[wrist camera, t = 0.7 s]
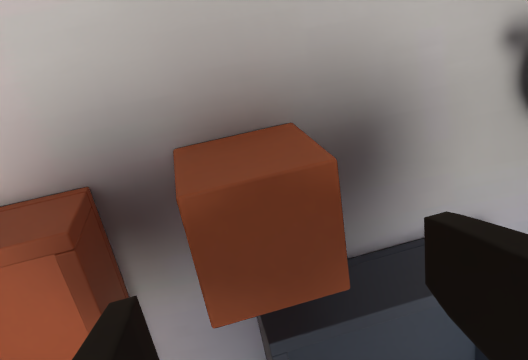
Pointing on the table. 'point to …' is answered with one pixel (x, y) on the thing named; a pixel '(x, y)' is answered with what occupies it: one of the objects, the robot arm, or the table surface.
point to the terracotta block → (262, 221)
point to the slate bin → (371, 317)
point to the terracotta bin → (53, 275)
